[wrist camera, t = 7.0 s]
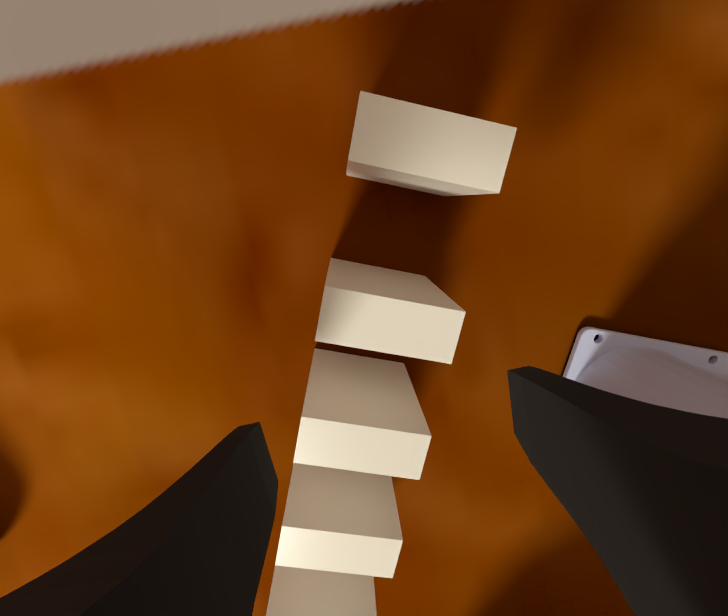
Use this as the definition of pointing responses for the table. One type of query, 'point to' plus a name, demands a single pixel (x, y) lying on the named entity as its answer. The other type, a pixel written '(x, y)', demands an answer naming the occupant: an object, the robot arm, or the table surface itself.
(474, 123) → the tile
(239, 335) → the table surface
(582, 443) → the robot arm
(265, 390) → the table surface
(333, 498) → the tile
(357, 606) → the tile
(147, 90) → the table surface
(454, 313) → the tile
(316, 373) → the tile
